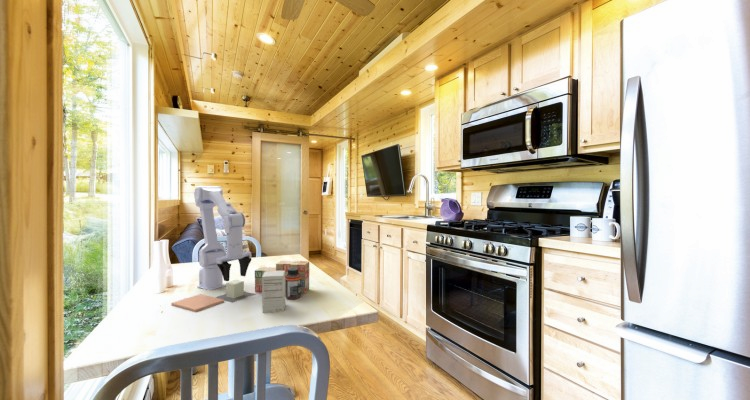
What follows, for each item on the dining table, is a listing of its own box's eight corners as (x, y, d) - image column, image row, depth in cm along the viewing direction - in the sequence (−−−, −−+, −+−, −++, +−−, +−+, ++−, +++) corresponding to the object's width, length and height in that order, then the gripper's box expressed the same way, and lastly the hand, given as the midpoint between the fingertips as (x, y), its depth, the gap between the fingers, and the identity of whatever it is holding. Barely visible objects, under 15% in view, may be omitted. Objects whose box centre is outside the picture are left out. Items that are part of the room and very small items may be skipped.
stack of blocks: (254, 292, 128) (254, 263, 128) (261, 288, 134) (261, 259, 134) (305, 294, 126) (305, 264, 126) (309, 289, 133) (309, 260, 132)
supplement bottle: (287, 294, 125) (286, 266, 125) (302, 294, 126) (302, 266, 125) (284, 300, 119) (283, 270, 119) (299, 299, 120) (299, 270, 119)
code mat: (213, 298, 121) (213, 297, 121) (237, 290, 131) (237, 289, 131) (232, 303, 116) (232, 302, 116) (256, 294, 126) (256, 293, 126)
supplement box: (265, 305, 114) (264, 270, 114) (286, 303, 115) (285, 270, 115) (261, 313, 107) (261, 276, 106) (284, 311, 108) (283, 275, 108)
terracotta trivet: (171, 305, 113) (171, 302, 113) (200, 296, 123) (200, 294, 123) (195, 312, 107) (195, 309, 107) (223, 302, 117) (223, 299, 117)
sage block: (226, 296, 122) (226, 282, 122) (236, 293, 126) (236, 279, 126) (234, 298, 120) (234, 284, 120) (243, 295, 124) (243, 281, 124)
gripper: (225, 247, 114) (225, 284, 115) (256, 242, 127) (256, 275, 128) (212, 246, 118) (213, 282, 118) (244, 240, 131) (245, 273, 131)
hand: (235, 278), depth 123 cm, fingers open, 7 cm apart
